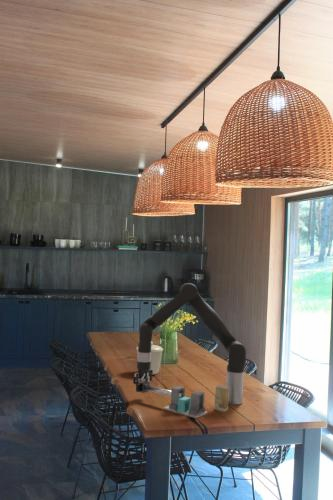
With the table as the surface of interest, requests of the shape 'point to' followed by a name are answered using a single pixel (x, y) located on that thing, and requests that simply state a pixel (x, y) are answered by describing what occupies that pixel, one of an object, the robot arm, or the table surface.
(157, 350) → the canister
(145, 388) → the shaft
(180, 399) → the spacer
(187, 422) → the table surface
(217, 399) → the skincare box
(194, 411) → the bearing stand
